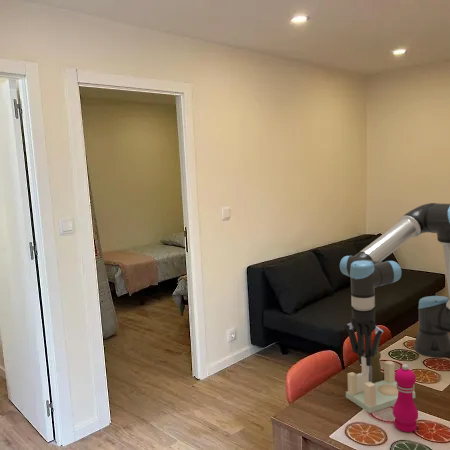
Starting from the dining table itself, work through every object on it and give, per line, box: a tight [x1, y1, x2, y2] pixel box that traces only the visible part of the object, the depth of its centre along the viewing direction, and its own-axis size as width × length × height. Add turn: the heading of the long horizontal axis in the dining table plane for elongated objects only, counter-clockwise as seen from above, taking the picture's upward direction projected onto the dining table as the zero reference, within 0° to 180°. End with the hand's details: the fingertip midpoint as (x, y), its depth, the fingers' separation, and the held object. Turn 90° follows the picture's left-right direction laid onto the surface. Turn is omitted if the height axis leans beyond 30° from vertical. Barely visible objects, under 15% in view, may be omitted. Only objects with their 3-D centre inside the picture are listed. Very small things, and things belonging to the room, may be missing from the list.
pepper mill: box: [392, 364, 419, 433], centre depth 137 cm, size 7×7×20 cm
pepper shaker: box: [370, 350, 383, 383], centre depth 169 cm, size 6×6×11 cm
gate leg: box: [347, 371, 369, 395], centre depth 156 cm, size 8×2×7 cm, turn 114°
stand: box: [345, 360, 416, 414], centre depth 155 cm, size 20×12×10 cm, turn 114°
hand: (365, 373), depth 153 cm, fingers closed
